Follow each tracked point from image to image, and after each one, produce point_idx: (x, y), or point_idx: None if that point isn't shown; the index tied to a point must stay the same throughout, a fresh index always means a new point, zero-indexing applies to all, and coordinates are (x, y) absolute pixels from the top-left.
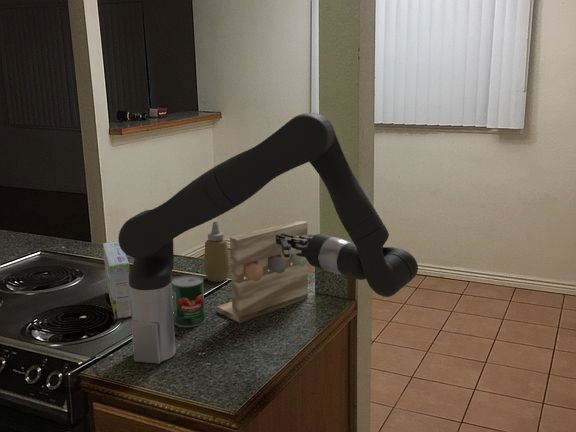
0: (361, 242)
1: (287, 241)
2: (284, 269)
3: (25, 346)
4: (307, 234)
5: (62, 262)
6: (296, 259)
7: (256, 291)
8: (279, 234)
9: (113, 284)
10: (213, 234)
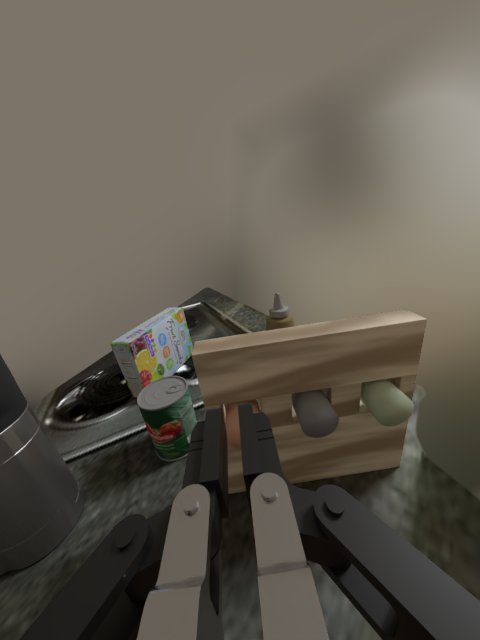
0: None
1: (162, 551)
2: (331, 430)
3: (37, 411)
4: (378, 520)
5: (198, 313)
6: (373, 409)
7: None
8: (219, 413)
9: (119, 363)
10: (274, 309)
